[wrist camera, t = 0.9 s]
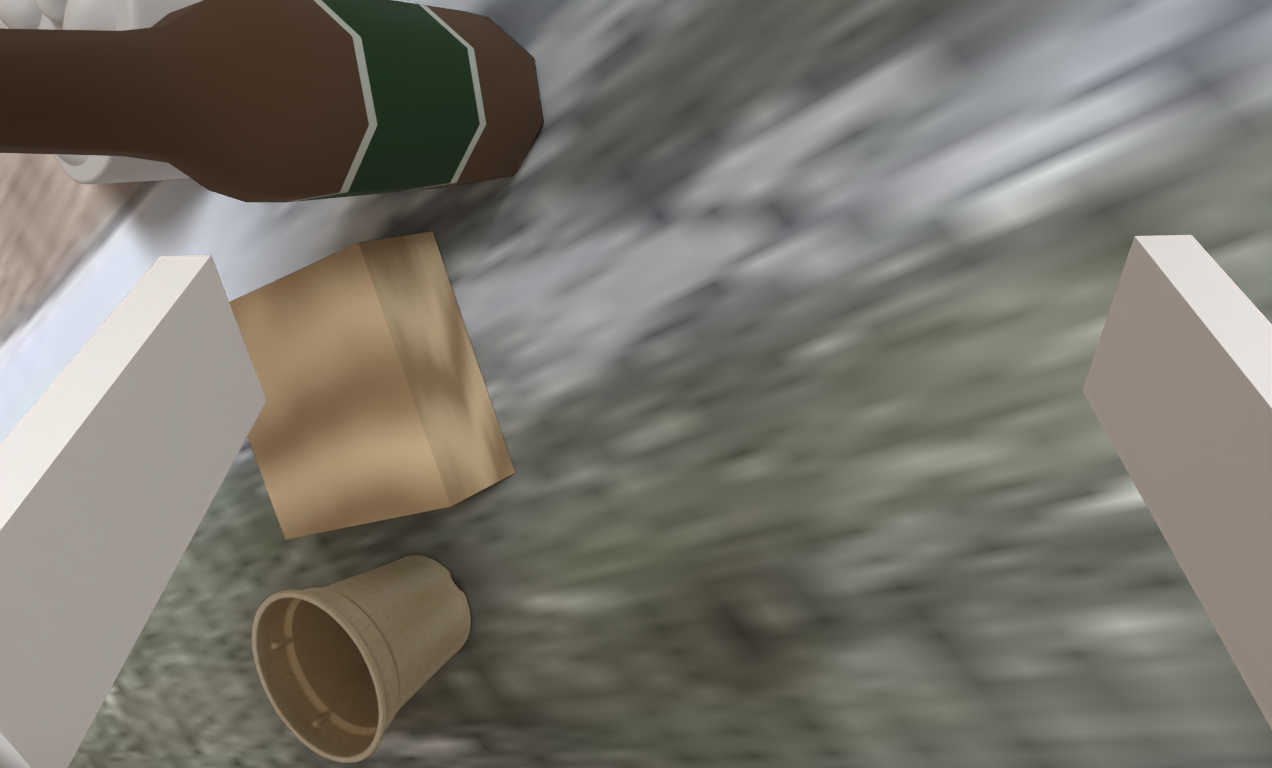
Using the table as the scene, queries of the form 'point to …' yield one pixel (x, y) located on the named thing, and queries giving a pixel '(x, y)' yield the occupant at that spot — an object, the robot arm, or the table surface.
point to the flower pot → (357, 651)
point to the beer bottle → (281, 96)
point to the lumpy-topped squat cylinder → (97, 6)
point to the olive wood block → (367, 389)
